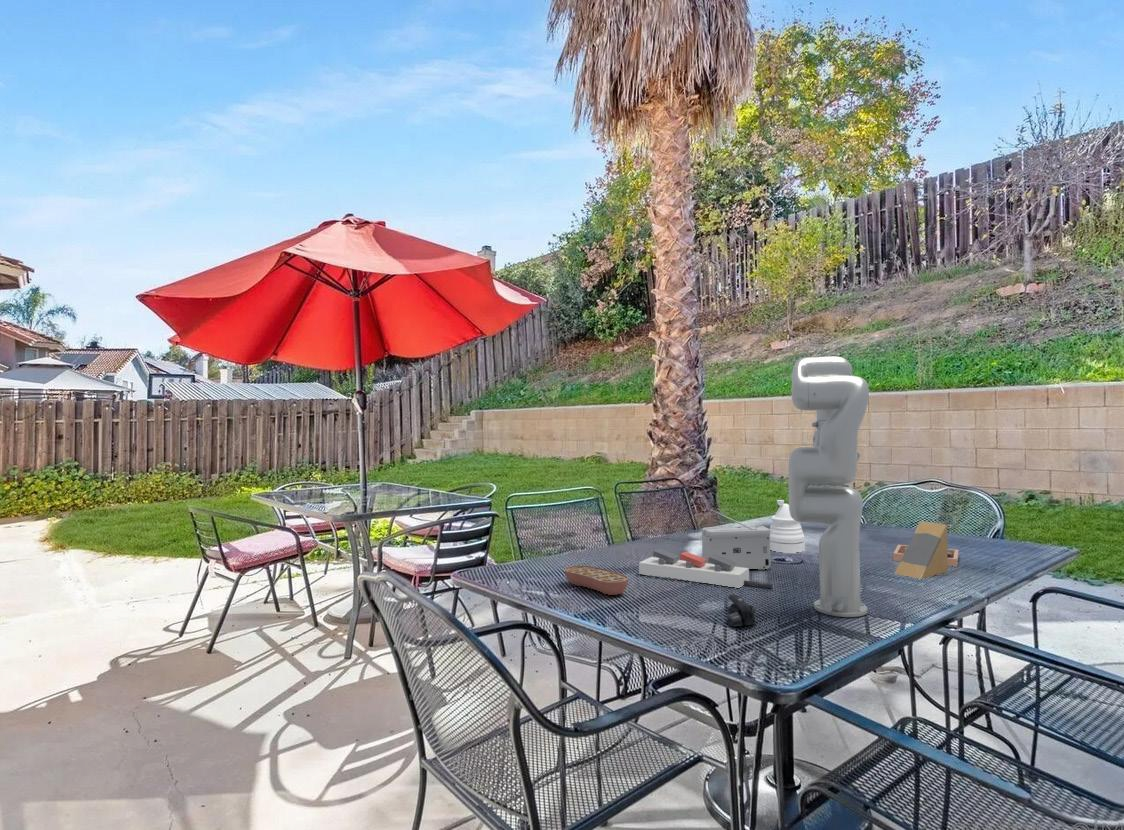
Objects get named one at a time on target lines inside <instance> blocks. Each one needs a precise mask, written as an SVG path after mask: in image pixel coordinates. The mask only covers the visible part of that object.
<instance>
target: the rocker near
mask: <svg viewBox="0 0 1124 830" xmlns="http://www.w3.org/2000/svg"><path fill="white" fill-rule="evenodd" d="M708 562H709V563H711V564H714V565H719V566H721V567H722V568H724V569H727V570H729V571H730V570H732V569H733V568H734V567H735V562H732V561H730V560H727V559H725V558H722V557H719V556H717V555H714V554H713V555H712V556H710V557H709V559H708Z"/></svg>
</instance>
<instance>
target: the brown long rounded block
mask: <svg viewBox="0 0 1124 830" xmlns="http://www.w3.org/2000/svg"><path fill="white" fill-rule="evenodd" d="M564 575H565V578H566V580H567V581H568V582H569V583H570V584H571V583H572V585H573V584H576V585H580V586H584V587H588V588H587V589H589V588H591V589H590V590H592V589H594V590H593V591H595V590H597V591H596V592H599V591H600V592H599V593H601V592H602V593H601V594H604V595H606V594H608V595H607V596H609V595H616V596H618V595H617V594H619V595H621V594H622V593H623V592H624V591H625V590H626V589H627V587H628V584H629V577H628V576H627V575H626V574H623V573H619V572H616V571H613V570H609V569H605V568H601V567H596V566H590V565H580V564H579V565H571V566H567V567H566V568H564ZM576 585H575V586H576ZM580 586H579V587H580ZM584 587H583V588H584Z"/></svg>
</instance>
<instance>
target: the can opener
mask: <svg viewBox="0 0 1124 830" xmlns="http://www.w3.org/2000/svg"><path fill="white" fill-rule="evenodd" d="M728 599H729V601H730V602H732V603H731V604H730V606H729V607H730V610H731V611H732V612H733V613H730V614H727V616H726V621H727V623H728V624H729V625H730V626H731V627H742V626H743V625H744V626H746V627H747V626H748V625H749V626H752V625H754V624H755V623H756V622H757V621H756V620H755V619H756V617H755V613H756V611H757V610H758V609H757V606H756V605H753V604H752V605H751V604H748V603H747V602H746V601H745V600H744V599H743V598H742V597H740V596H739V595H736V594H732V593H731V594H729V595H728Z"/></svg>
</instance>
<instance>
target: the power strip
mask: <svg viewBox="0 0 1124 830" xmlns="http://www.w3.org/2000/svg"><path fill="white" fill-rule="evenodd" d="M638 574H644V575H653V576H660V577H670V578H677V579H683V580H689V581H696V582H702V583H709V584H716V585H722V586H728V587H735V588H734V589H736V588H740V587H742V586H743V585H744V584H746V585H744V586H751V585H753V586H754V587H759V586H760V587H761V588H766V587H767V588H768V589H773V587H774V585H773V583H769V582H768V583H767V582H761V581H752V580H750V570H749V568H742V567H734V568H733V569H732V570H730V571H729V570H727V569H724V568H722V567H721V566H719V565H714V564H708V563H706V564H705V565H703V566H702V567H699V566H696V565H694V564H692V562H686V561H684V560H681V559H678V561H677V562H675V563H673V564H672V563H670V562H667V561H665V560H664V559H660V558H657V557H655V556H650V557H648V558H645V559H644V560H641V561H639V562H638ZM744 586H743V587H744ZM753 586H752V587H753ZM728 587H727V588H728ZM743 587H742V588H743ZM740 589H741V588H740Z"/></svg>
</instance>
